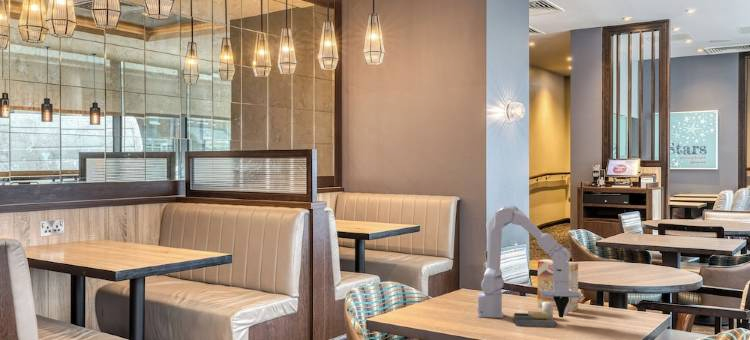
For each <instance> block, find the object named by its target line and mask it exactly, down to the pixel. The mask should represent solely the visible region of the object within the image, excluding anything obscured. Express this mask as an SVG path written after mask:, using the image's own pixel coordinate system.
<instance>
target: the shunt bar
mask: <svg viewBox="0 0 750 340" xmlns="http://www.w3.org/2000/svg"><path fill="white" fill-rule="evenodd" d="M527 313H528V316H532V319H551V314H550V312H542V311H531V310H529V311H527Z"/></svg>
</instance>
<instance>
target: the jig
mask: <svg viewBox="0 0 750 340" xmlns="http://www.w3.org/2000/svg"><path fill="white" fill-rule="evenodd" d="M513 320H514V325H515V327H538V328H539V327H541V328H544V327H545V328H555V320H554V317H553V318H552V316H551V319H532V316H528V312H527V313H525V312H524V313H523V312H514V313H513Z"/></svg>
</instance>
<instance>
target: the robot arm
mask: <svg viewBox="0 0 750 340" xmlns="http://www.w3.org/2000/svg"><path fill="white" fill-rule="evenodd" d="M509 224H511V225H517V226H521V227H522V228H523V229H524V230H525V231H527V232H528V233H529V234H530V235H531V236H533V237H534V238H535V239H536V244H537V245H538V246H539V248H541V250H543V251H544V252H545V253H546V254H547V255H548V256H549V257H550V258H551V259H550V260H552V261H553V291H541V297H553V299H554V301H555V303H556V306H557V309H558V310H557V312H558V313H557V314H558V317H559V318H564V316H565V315H564V311H565V308H566V306H567V304H568V302H569V298H578V299H582V296H583V295H582V293H581V292H580V291H578V292H569V262H570V259H571V252H570V250H569V249H568V248H567V247H564V246H563V244H560V243H559V242H558V241H557V240H556V239H554V235H552V234H549V232H548V233H546V232H545V233H544V232H542V230H540V228H539V227H537V225H536V224H534V223H533V222H532V221H531V219H530V218H529V217H528V216H527V215H526V214H525V213H524V212H523V211H522V210H520V209H519V208H518V207H517V206H515V205H509V206H503V207H500V208H498V209H497V210H496V211H495V212H494V215H493V216H492V218H491V219H490V221H489V222H488V225H487V226H488V229H487V232H488V233H487V250H486V251H487V252H486V254H487V255H486V269H485V272H484V273H483V279H482V281H481V282H480V287H481V288H480V289H482V292H478V293H477V294H478V295H477V296H478V298H477V299H478V300H477V302H478V303H477V304H478V306H477V308H476V309H477V313H478V317H479V318H499V319H500V318H501V319H503V318H504V314H503V307H502V306H503V305H502V304H503V303H502V301H503V298H502V297H503V296H502V295H503V293H502V292H503V291H502V289H503V288H504V285H505V281H504V277H503V272H502V270H501V260H502V259H501V258H502V257H501V255H502V237H503V236H502V235H503V233H502V230H503V229H504V228H505V227H507V226H508V225H509ZM566 262H567V263H566Z"/></svg>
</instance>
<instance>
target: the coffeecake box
mask: <svg viewBox="0 0 750 340" xmlns="http://www.w3.org/2000/svg"><path fill="white" fill-rule="evenodd" d="M568 262H569V289H571V290H572V292H579V262H575V261H568ZM566 263H567V262H566ZM541 291H553V261H552V260H551V259H547V258H542V259H539V260H537V308H542V302H552V303H553V310H555V311H558V309H557V306H556V303H555V301H554V299H553V297H541ZM577 310H579V298H570V304H569V312H568V313H573V312H575V311H577Z"/></svg>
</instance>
